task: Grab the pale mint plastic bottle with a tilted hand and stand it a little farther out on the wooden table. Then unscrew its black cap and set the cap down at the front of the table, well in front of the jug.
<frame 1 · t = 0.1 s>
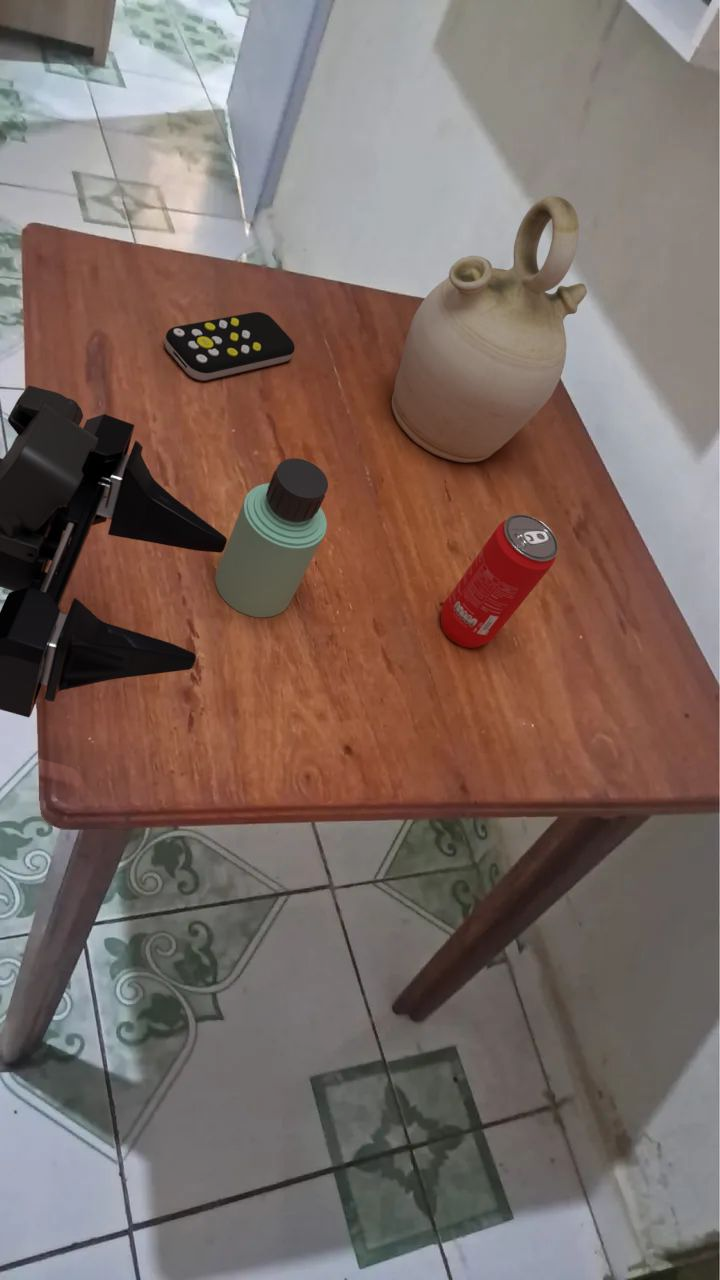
hand: (210, 600, 56), 14 cm above the table, tool horizontal, fingers open, 9 cm apart
jug: (443, 424, 99), on the table
cap: (300, 481, 68), point 12 cm above the table, screwed on, not yet turned
bottle: (254, 585, 76), on the table
remote control: (228, 354, 93), on the table
beverage can: (462, 628, 83), on the table
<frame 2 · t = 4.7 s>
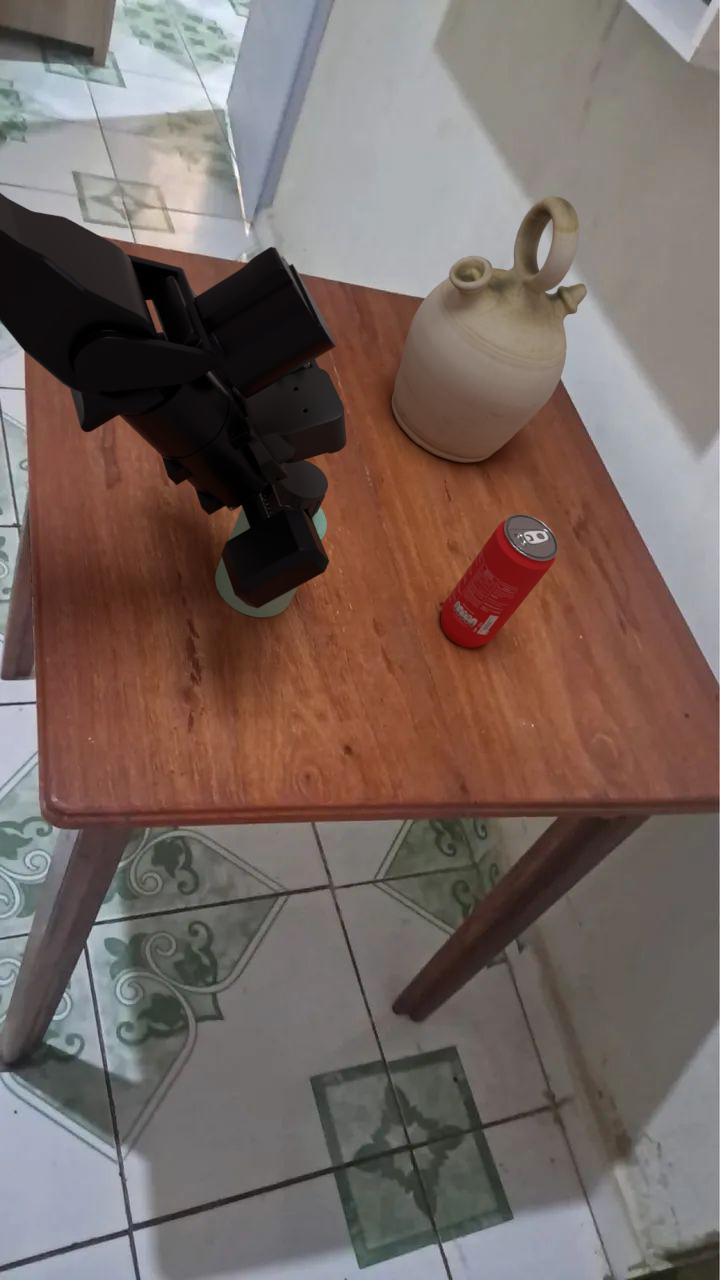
hand: (295, 531, 72), 7 cm above the table, tool tilted 45°, fingers closed on bottle, 6 cm apart
bottle: (254, 585, 76), on the table, touching gripper
everything else where it was.
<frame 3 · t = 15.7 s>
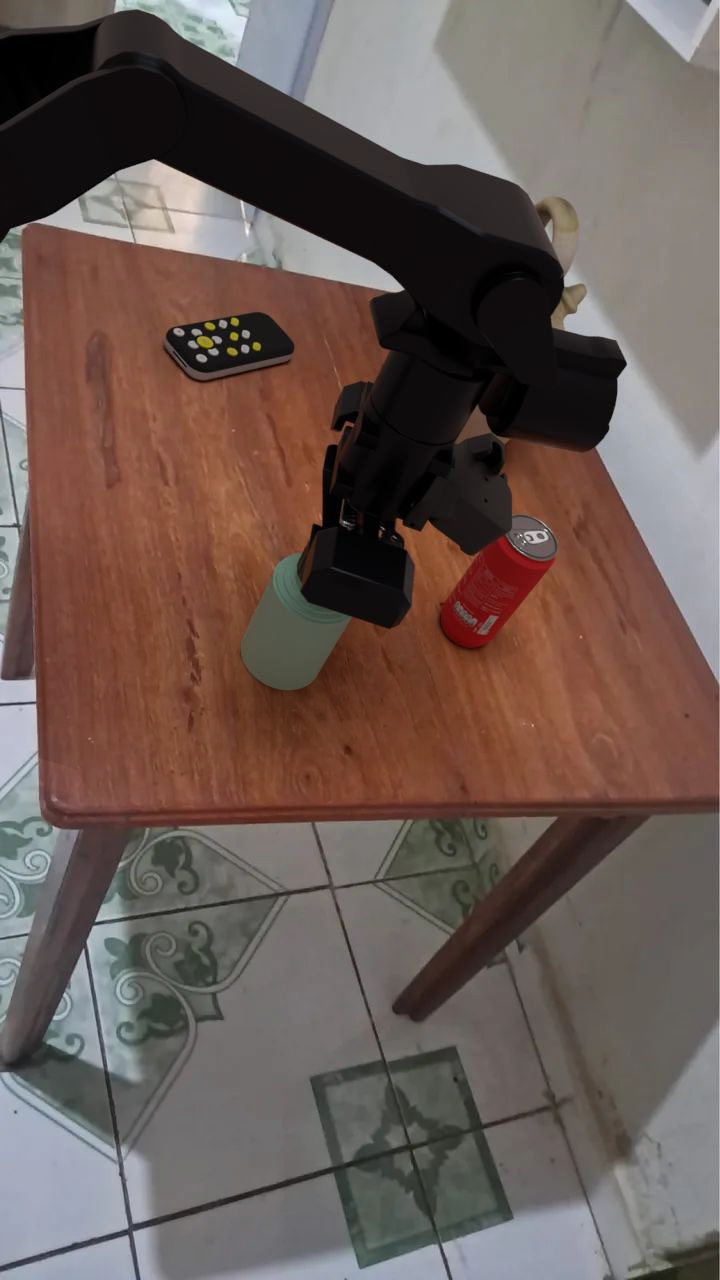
hand: (325, 578, 66), 10 cm above the table, tool pointing down, fingers closed on cap, 4 cm apart
cap: (333, 555, 64), point 12 cm above the table, screwed on, not yet turned, touching gripper
bottle: (280, 655, 73), on the table
everything else where it was.
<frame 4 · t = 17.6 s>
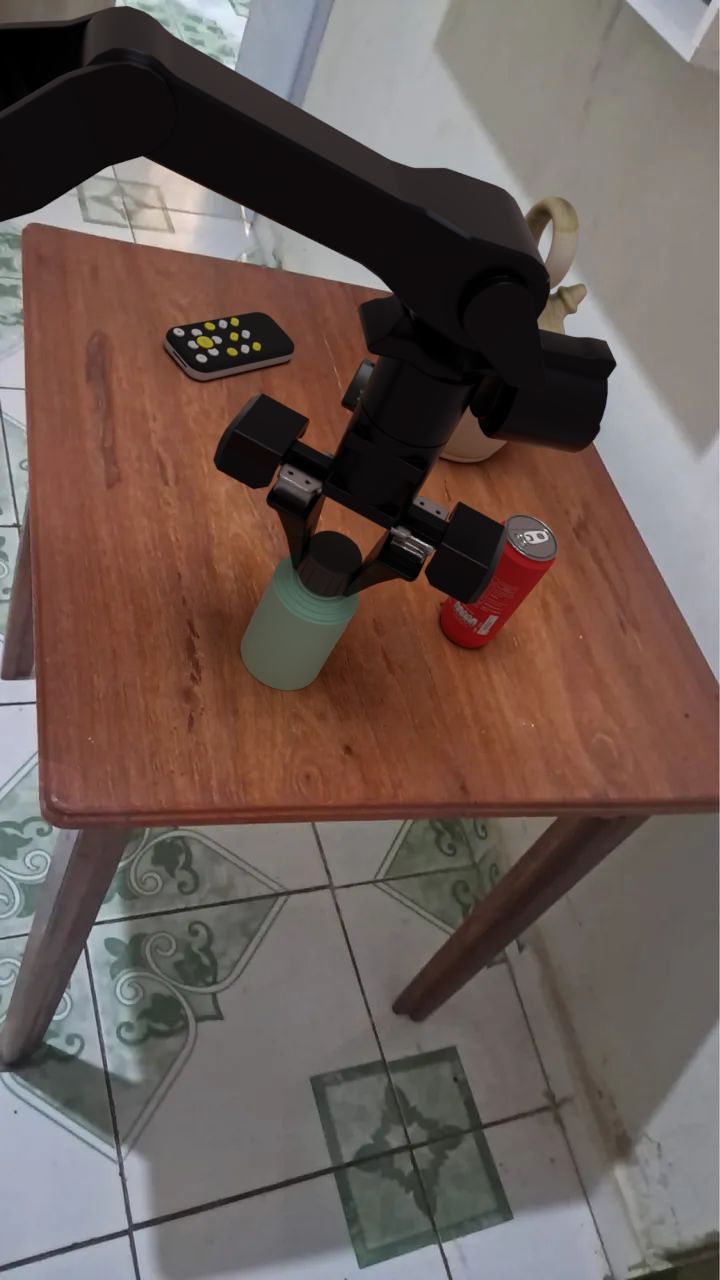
hand: (322, 579, 67), 9 cm above the table, tool pointing down, fingers closed on cap, 3 cm apart
cap: (333, 555, 64), point 12 cm above the table, turned 76° so far, risen 0.1 cm, still on its thread, touching gripper
bottle: (280, 655, 73), on the table, touching gripper
everything else where it was.
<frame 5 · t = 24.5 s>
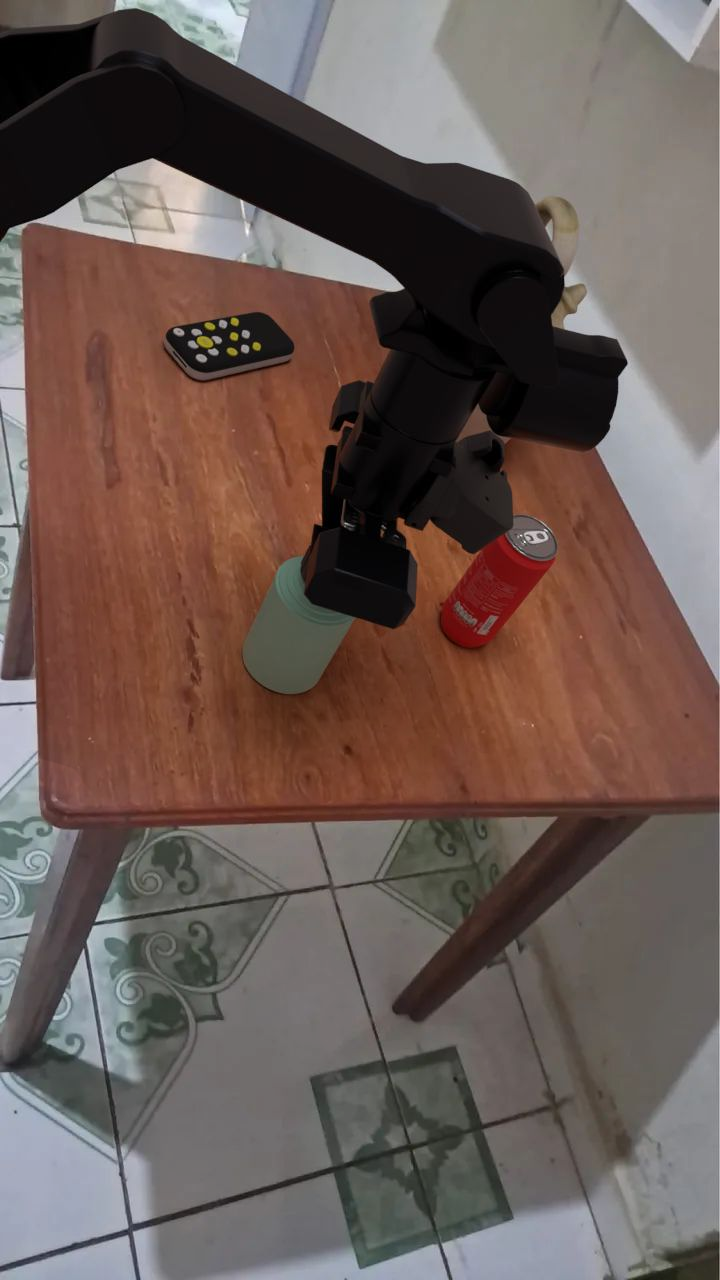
hand: (326, 578, 66), 10 cm above the table, tool pointing down, fingers closed on cap, 3 cm apart
cap: (337, 555, 64), point 12 cm above the table, turned 151° so far, risen 0.1 cm, still on its thread, touching gripper
bottle: (282, 659, 73), on the table
everything else where it was.
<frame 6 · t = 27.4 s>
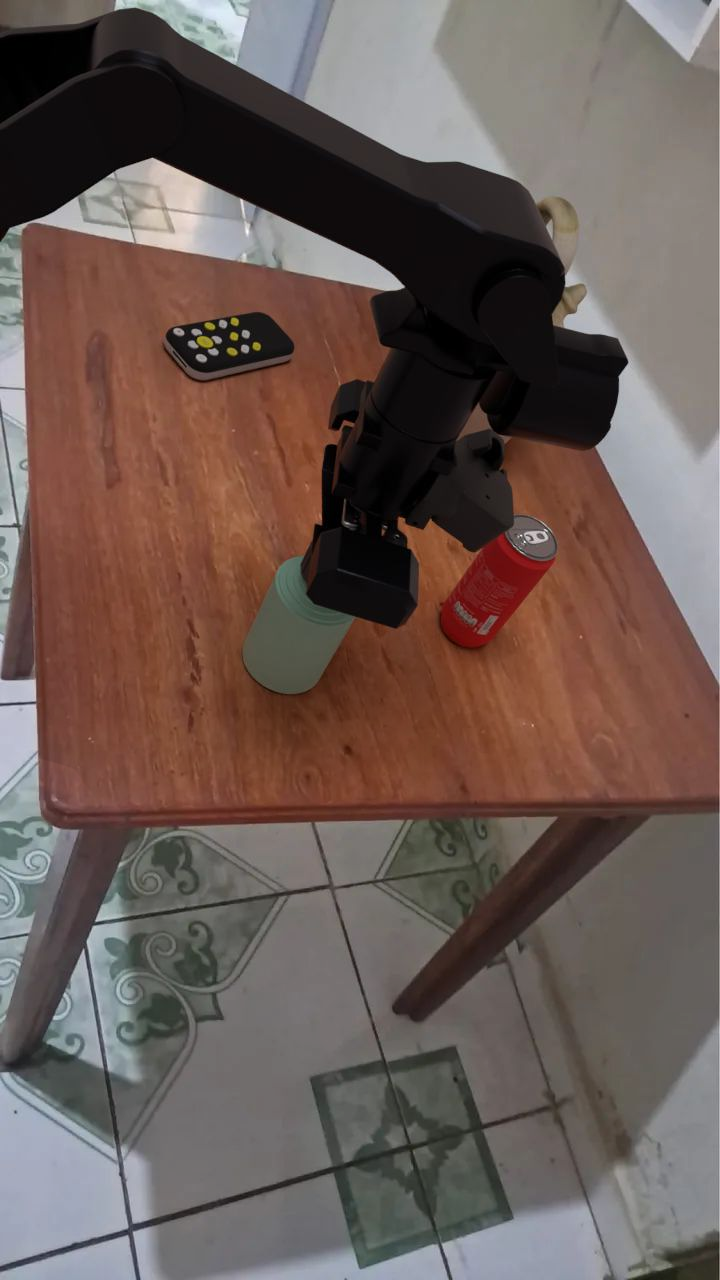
hand: (326, 578, 66), 10 cm above the table, tool pointing down, fingers closed on cap, 3 cm apart
cap: (337, 555, 64), point 12 cm above the table, turned 226° so far, risen 0.2 cm, still on its thread, touching gripper
everything else where it was.
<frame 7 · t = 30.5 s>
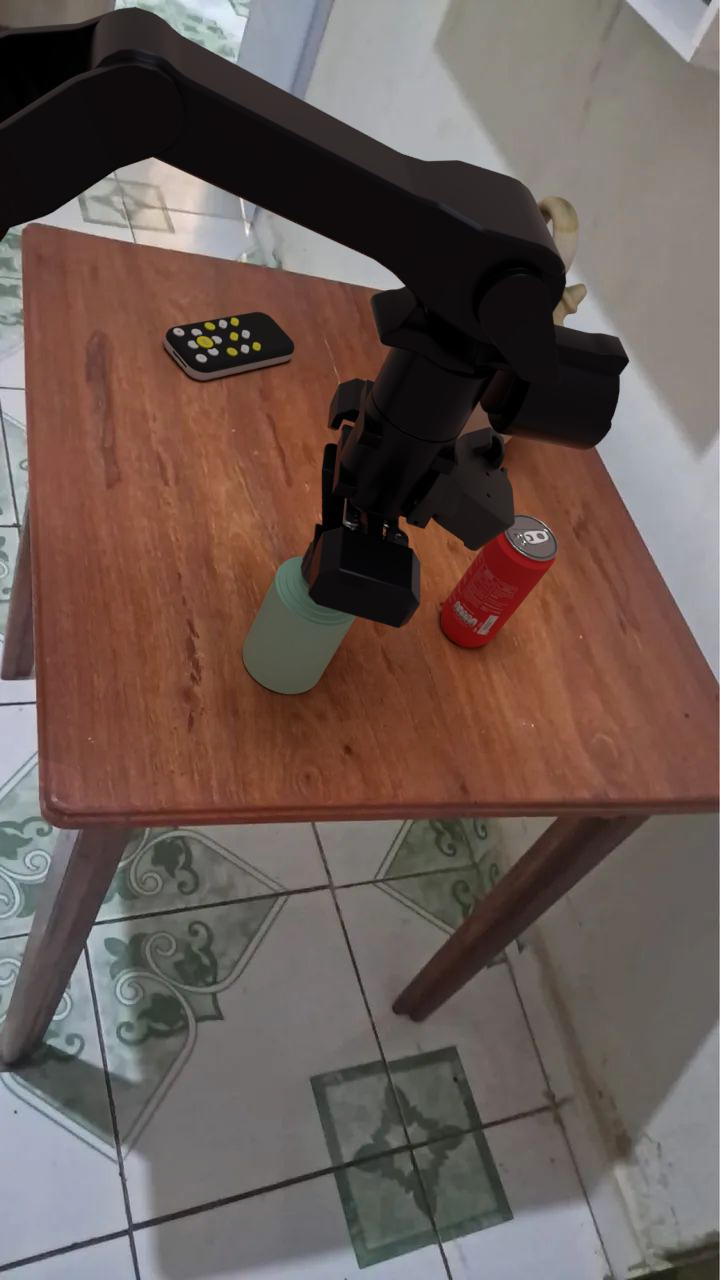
hand: (327, 577, 66), 10 cm above the table, tool pointing down, fingers closed on cap, 3 cm apart
cap: (337, 554, 64), point 12 cm above the table, turned 302° so far, risen 0.3 cm, still on its thread, touching gripper
everything else where it was.
when the fingers open (1 cm above the table, at t = 39.6 s): cap drops 2 cm, point 2 cm above the table.
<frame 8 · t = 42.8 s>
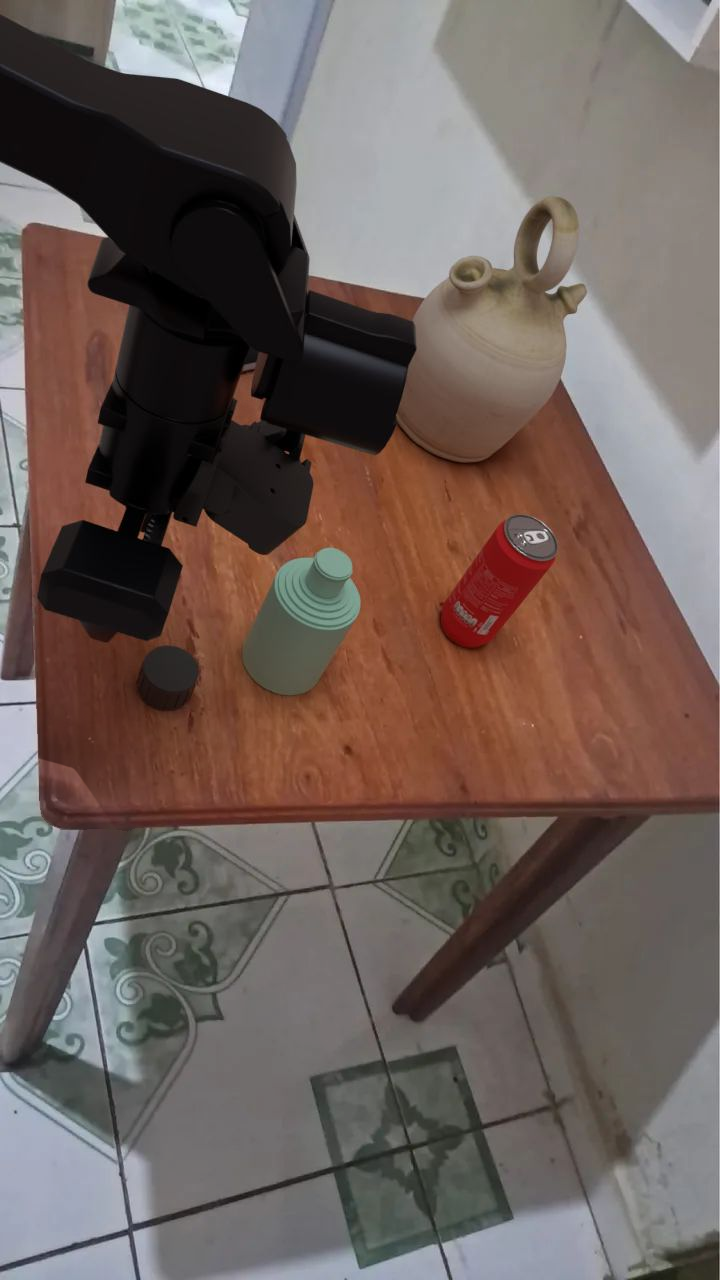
hand: (119, 580, 58), 11 cm above the table, tool pointing down, fingers open, 9 cm apart
cap: (170, 671, 66), point 2 cm above the table, off its thread
everything else where it was.
at the end: cap came off its thread; the gripper is holding nothing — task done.
